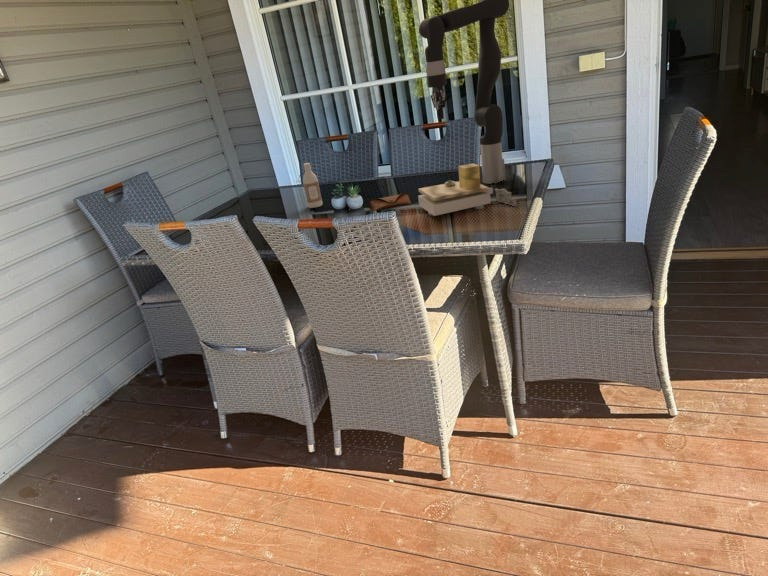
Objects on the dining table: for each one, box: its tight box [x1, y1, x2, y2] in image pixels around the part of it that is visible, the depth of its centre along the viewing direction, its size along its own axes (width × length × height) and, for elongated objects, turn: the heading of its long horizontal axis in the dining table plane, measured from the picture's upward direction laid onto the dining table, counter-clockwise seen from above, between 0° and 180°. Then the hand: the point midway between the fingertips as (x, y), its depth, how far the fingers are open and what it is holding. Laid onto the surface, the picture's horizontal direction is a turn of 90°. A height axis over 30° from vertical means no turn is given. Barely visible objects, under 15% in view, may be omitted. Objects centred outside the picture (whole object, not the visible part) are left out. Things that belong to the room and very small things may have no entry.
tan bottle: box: [302, 162, 323, 209], centre depth 238 cm, size 7×7×20 cm
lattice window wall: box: [494, 188, 517, 207], centre depth 197 cm, size 12×2×6 cm, turn 23°
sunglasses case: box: [368, 192, 412, 212], centre depth 222 cm, size 18×7×7 cm
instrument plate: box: [418, 163, 490, 201], centre depth 198 cm, size 23×18×10 cm
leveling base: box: [417, 187, 494, 217], centre depth 201 cm, size 24×21×8 cm
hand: (440, 118), depth 210 cm, fingers closed
